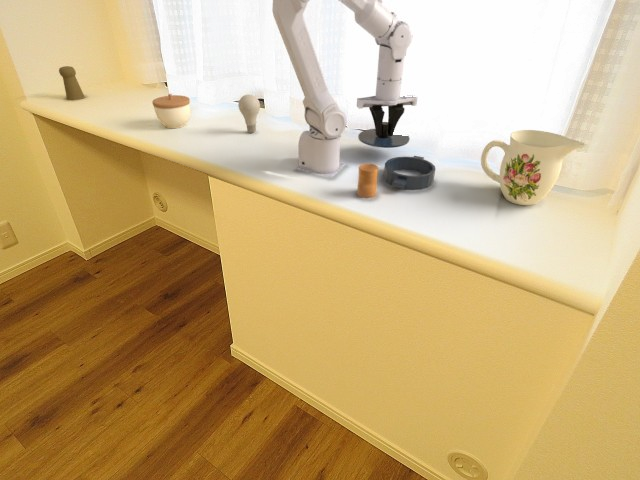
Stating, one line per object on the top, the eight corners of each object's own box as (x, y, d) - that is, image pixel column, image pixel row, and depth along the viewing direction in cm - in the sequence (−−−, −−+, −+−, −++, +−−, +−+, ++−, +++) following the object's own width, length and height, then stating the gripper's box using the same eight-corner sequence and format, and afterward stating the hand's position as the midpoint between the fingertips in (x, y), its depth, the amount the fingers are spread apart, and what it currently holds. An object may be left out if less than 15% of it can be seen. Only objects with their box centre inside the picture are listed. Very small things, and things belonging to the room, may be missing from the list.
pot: (372, 190, 90) (373, 175, 87) (395, 163, 102) (397, 149, 100) (422, 201, 85) (424, 185, 83) (440, 172, 98) (442, 157, 96)
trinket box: (157, 132, 121) (150, 100, 115) (157, 121, 129) (151, 91, 124) (194, 128, 123) (189, 97, 118) (192, 118, 132) (187, 88, 127)
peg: (354, 197, 87) (356, 169, 83) (361, 189, 90) (363, 162, 86) (371, 201, 85) (374, 172, 82) (378, 193, 88) (381, 165, 85)
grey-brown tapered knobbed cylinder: (88, 97, 153) (78, 66, 147) (72, 100, 149) (62, 69, 143) (78, 95, 156) (69, 64, 150) (63, 98, 151) (52, 67, 145)
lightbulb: (248, 137, 117) (244, 98, 111) (237, 132, 121) (233, 94, 115) (266, 133, 120) (263, 95, 114) (255, 127, 124) (251, 90, 118)
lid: (350, 144, 100) (351, 126, 98) (368, 129, 110) (370, 112, 107) (400, 153, 95) (402, 135, 93) (415, 137, 105) (417, 119, 102)
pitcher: (483, 176, 96) (498, 118, 88) (567, 199, 86) (591, 137, 78) (465, 193, 88) (479, 132, 81) (554, 220, 79) (579, 153, 71)
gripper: (364, 83, 90) (360, 142, 97) (425, 81, 92) (417, 138, 100) (355, 76, 95) (352, 133, 103) (413, 74, 98) (406, 129, 105)
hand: (383, 135), depth 102 cm, fingers closed on lid, 2 cm apart
